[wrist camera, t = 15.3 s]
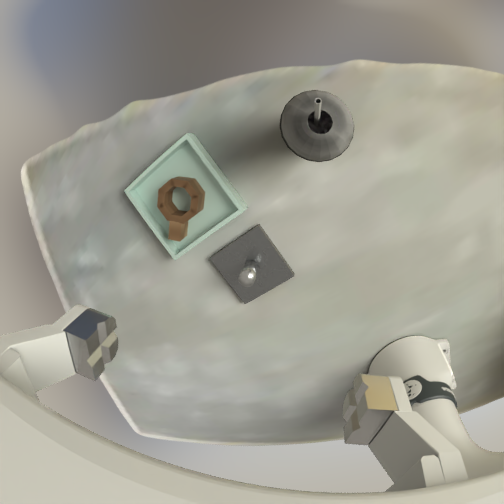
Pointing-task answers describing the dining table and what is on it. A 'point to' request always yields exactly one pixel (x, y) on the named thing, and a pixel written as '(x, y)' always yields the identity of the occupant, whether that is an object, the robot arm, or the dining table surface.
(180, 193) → the tray
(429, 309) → the dining table surface
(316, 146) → the beverage cup
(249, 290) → the stake
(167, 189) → the ring
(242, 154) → the dining table surface
